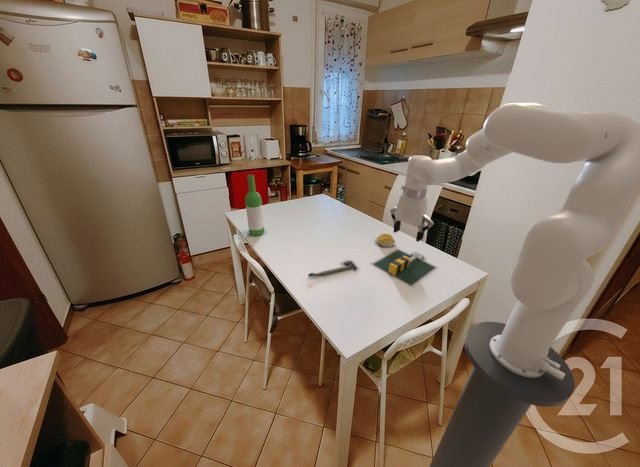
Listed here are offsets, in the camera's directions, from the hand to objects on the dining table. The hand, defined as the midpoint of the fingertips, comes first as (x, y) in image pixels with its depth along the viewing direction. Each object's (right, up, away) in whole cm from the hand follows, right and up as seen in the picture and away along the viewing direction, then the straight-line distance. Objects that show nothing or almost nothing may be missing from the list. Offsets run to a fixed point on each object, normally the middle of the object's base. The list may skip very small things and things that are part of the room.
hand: (407, 235), depth 99 cm
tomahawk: (-28, -14, +8) cm, 33 cm away
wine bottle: (-66, +1, +36) cm, 75 cm away
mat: (+2, -13, +11) cm, 17 cm away
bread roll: (-1, -4, +29) cm, 29 cm away
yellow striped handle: (+3, -12, +12) cm, 17 cm away
